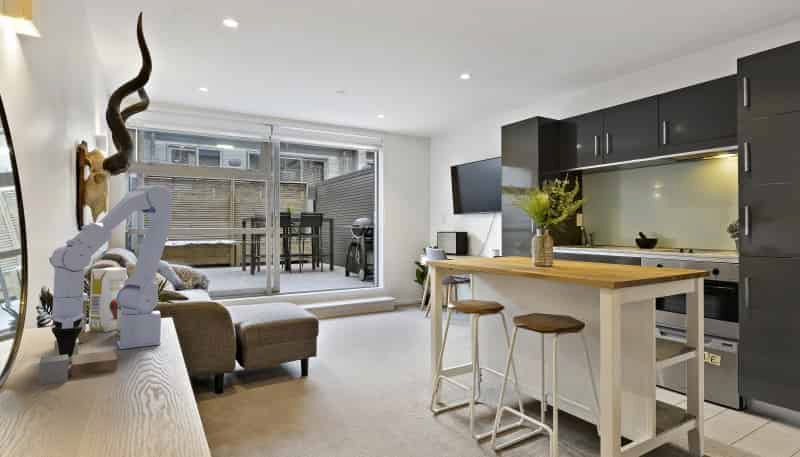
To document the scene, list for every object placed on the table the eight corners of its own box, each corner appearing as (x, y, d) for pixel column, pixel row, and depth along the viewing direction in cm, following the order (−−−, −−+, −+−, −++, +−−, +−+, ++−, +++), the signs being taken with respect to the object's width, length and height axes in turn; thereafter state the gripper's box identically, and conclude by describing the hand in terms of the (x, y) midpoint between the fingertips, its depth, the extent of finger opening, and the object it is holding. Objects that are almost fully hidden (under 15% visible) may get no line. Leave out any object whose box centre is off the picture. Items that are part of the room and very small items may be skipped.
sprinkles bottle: (85, 343, 115) (87, 294, 115) (63, 345, 113) (66, 295, 113) (86, 339, 119) (88, 292, 119) (65, 341, 116) (67, 292, 117)
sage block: (77, 356, 104) (78, 338, 104) (77, 361, 101) (78, 342, 101) (53, 359, 102) (54, 340, 102) (53, 364, 98) (54, 344, 98)
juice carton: (84, 331, 128) (86, 268, 128) (107, 325, 137) (110, 266, 137) (105, 333, 127) (108, 269, 127) (128, 327, 135) (130, 267, 136)
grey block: (67, 375, 91) (68, 354, 91) (67, 381, 88) (68, 359, 88) (39, 379, 89) (40, 357, 89) (38, 385, 85) (39, 363, 85)
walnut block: (113, 362, 101) (114, 350, 101) (116, 372, 95) (117, 359, 95) (71, 368, 96) (71, 355, 96) (71, 378, 90) (72, 364, 90)
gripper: (48, 293, 105) (45, 348, 104) (45, 301, 93) (43, 363, 93) (83, 291, 109) (81, 344, 109) (85, 299, 98) (83, 358, 97)
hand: (66, 352), depth 101 cm, fingers open, 7 cm apart
